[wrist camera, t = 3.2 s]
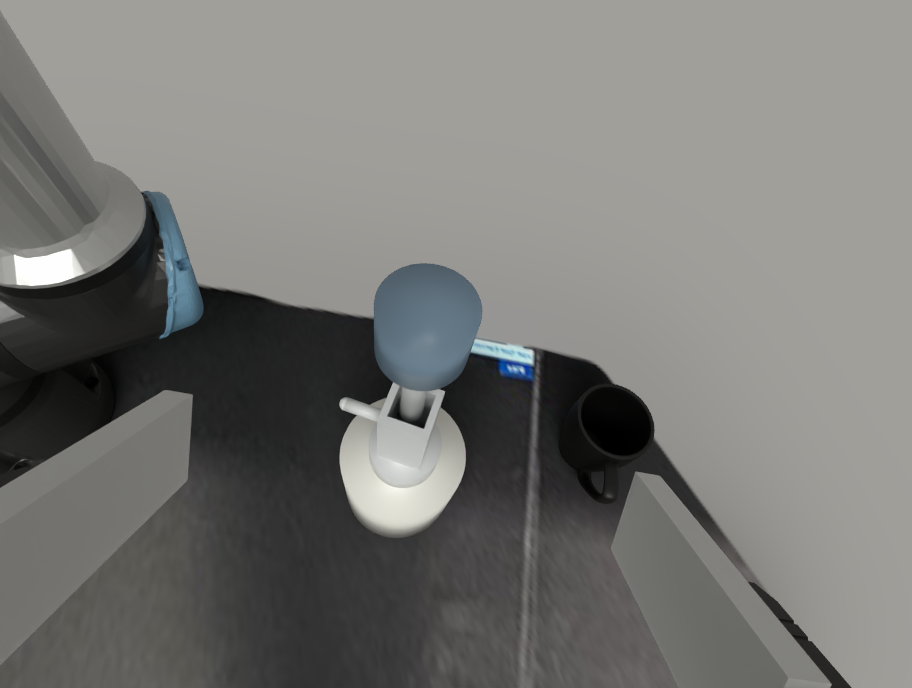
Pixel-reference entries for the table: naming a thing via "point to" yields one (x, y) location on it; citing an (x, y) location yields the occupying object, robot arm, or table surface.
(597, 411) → the mug
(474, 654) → the table surface
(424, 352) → the plunger
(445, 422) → the bottle
